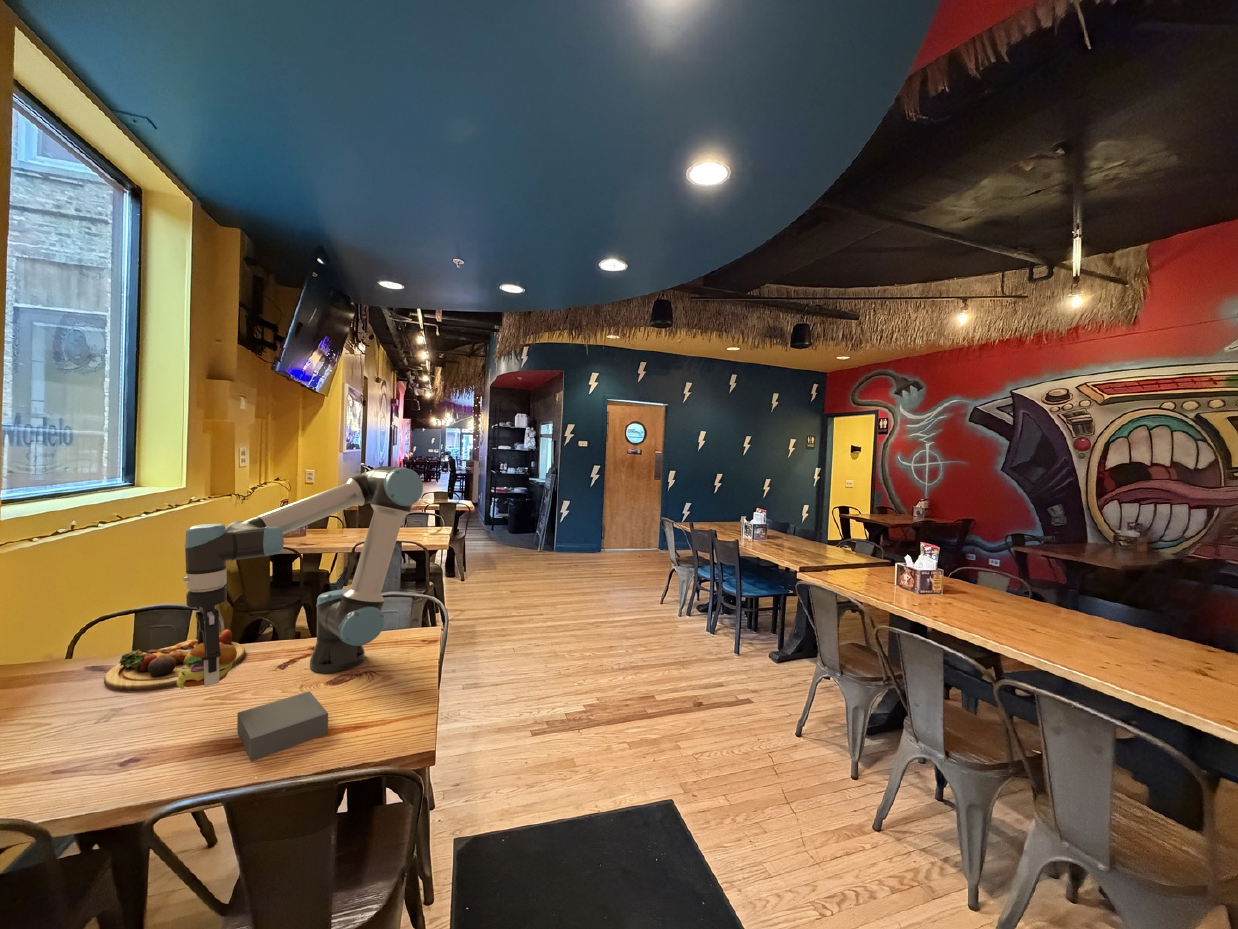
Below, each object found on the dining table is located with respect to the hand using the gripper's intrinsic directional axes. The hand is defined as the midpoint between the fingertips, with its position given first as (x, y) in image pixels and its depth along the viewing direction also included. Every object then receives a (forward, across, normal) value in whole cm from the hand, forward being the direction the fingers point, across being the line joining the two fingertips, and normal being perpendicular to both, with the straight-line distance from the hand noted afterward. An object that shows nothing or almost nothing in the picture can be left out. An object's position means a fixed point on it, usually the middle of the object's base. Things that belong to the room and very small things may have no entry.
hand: (208, 676), depth 119 cm
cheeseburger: (+1, 0, 0) cm, 1 cm away
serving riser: (+12, +18, +11) cm, 24 cm away
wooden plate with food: (+12, -45, -2) cm, 47 cm away
